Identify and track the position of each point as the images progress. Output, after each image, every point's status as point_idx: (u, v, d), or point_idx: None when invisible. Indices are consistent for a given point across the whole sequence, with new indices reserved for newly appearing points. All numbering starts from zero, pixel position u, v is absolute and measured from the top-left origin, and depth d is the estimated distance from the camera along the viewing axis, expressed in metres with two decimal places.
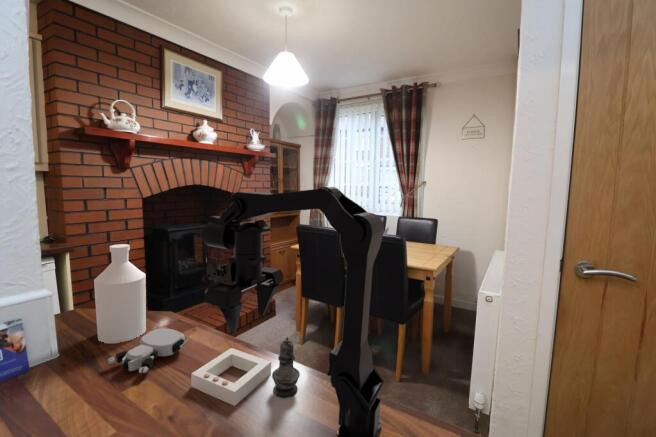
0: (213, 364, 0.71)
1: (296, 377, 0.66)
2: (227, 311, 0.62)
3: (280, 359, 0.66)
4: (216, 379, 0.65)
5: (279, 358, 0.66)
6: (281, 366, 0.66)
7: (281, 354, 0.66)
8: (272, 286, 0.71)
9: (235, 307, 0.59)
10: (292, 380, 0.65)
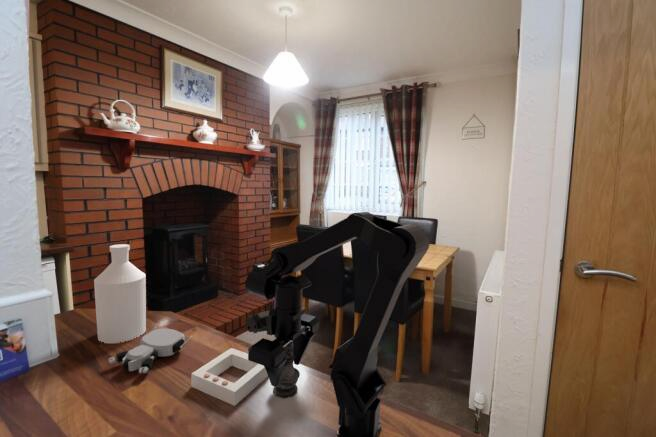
0: (213, 364, 0.71)
1: (296, 377, 0.66)
2: None
3: None
4: (216, 379, 0.65)
5: None
6: None
7: None
8: (308, 335, 0.70)
9: (280, 365, 0.59)
10: (292, 380, 0.65)
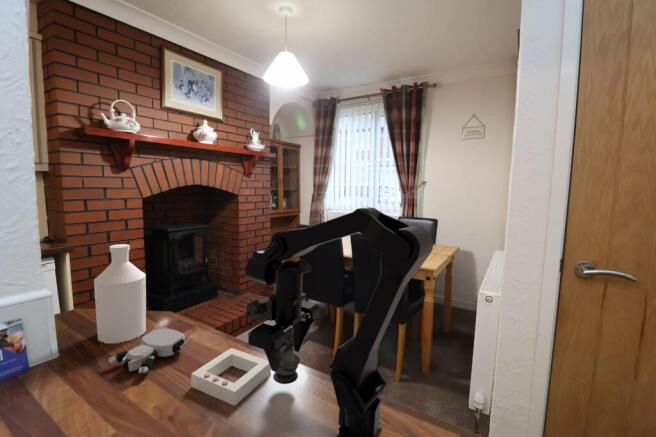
0: (213, 364, 0.71)
1: (297, 362, 0.66)
2: (270, 351, 0.62)
3: None
4: (216, 379, 0.65)
5: None
6: None
7: None
8: (308, 322, 0.70)
9: (280, 349, 0.59)
10: (294, 365, 0.65)
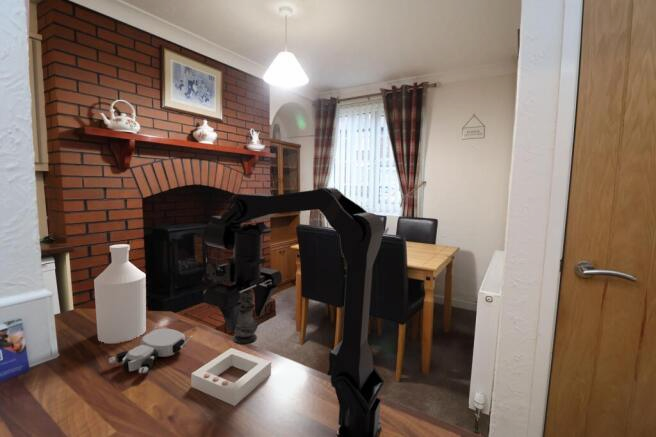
0: (213, 364, 0.71)
1: (255, 325, 0.68)
2: (226, 311, 0.63)
3: None
4: (216, 379, 0.65)
5: None
6: (240, 314, 0.67)
7: (240, 302, 0.67)
8: (269, 287, 0.71)
9: (234, 307, 0.60)
10: (251, 327, 0.67)
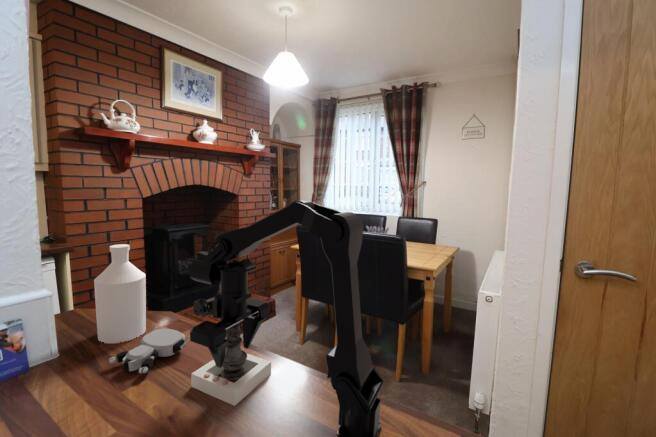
0: (213, 364, 0.71)
1: (243, 358, 0.69)
2: (213, 347, 0.64)
3: None
4: (216, 379, 0.65)
5: None
6: (228, 348, 0.68)
7: (228, 337, 0.68)
8: (257, 320, 0.73)
9: (220, 345, 0.62)
10: (239, 361, 0.68)
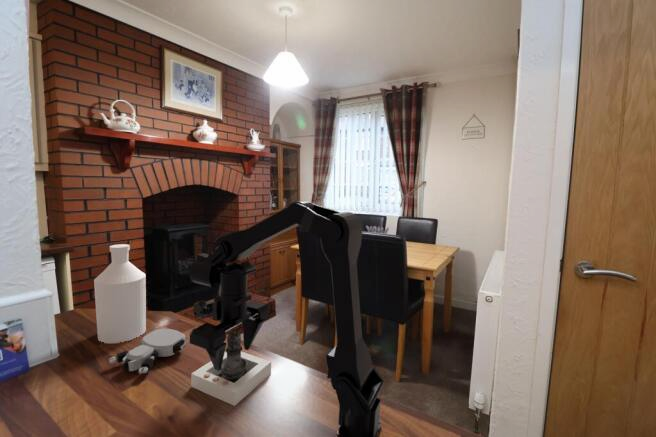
0: None
1: (237, 371, 0.68)
2: (212, 350, 0.64)
3: (226, 348, 0.69)
4: (216, 379, 0.65)
5: (227, 347, 0.70)
6: None
7: None
8: (257, 321, 0.73)
9: (219, 348, 0.61)
10: (230, 372, 0.67)
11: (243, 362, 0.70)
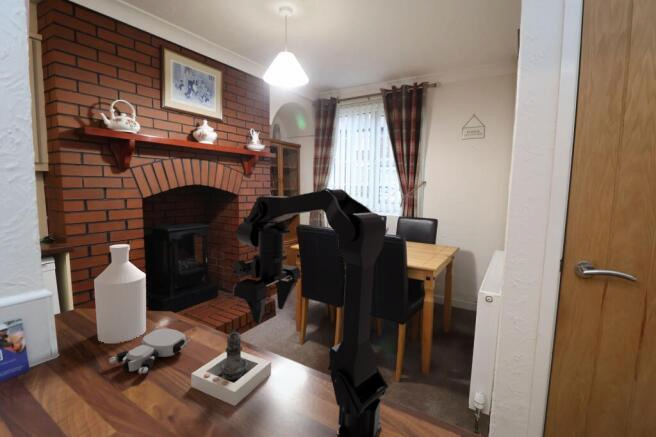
0: (213, 364, 0.71)
1: (236, 371, 0.68)
2: (253, 304, 0.68)
3: (226, 348, 0.69)
4: (216, 379, 0.65)
5: (227, 347, 0.70)
6: None
7: (227, 344, 0.69)
8: (291, 282, 0.77)
9: (261, 300, 0.66)
10: (230, 372, 0.67)
11: (243, 362, 0.70)
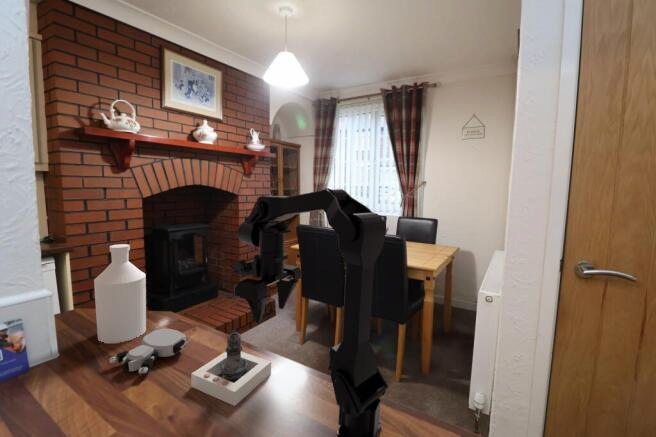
0: (213, 364, 0.71)
1: (237, 371, 0.68)
2: (253, 304, 0.69)
3: (226, 348, 0.69)
4: (216, 379, 0.65)
5: (227, 347, 0.70)
6: None
7: (227, 344, 0.69)
8: (292, 282, 0.77)
9: (262, 300, 0.66)
10: (230, 372, 0.67)
11: (243, 362, 0.70)
